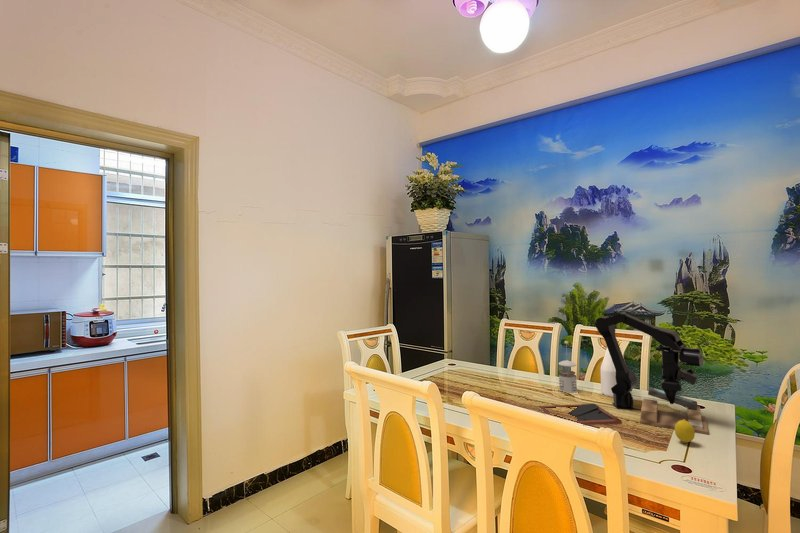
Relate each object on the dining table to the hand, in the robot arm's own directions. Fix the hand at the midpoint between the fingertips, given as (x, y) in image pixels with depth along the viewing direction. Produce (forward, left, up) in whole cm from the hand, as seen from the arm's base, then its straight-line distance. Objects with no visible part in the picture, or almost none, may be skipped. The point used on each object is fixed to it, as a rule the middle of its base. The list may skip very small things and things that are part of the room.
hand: (671, 402), depth 158 cm
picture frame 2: (0, 0, +1) cm, 1 cm away
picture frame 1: (-36, 0, -7) cm, 36 cm away
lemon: (-8, -24, -6) cm, 26 cm away
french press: (-31, +33, -6) cm, 46 cm away
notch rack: (-2, -4, -6) cm, 7 cm away
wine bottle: (-12, +29, -6) cm, 32 cm away
